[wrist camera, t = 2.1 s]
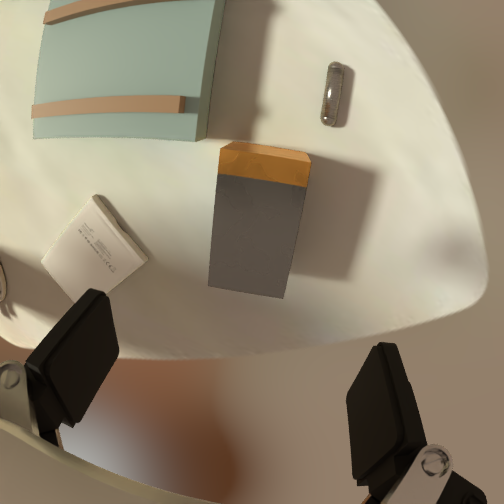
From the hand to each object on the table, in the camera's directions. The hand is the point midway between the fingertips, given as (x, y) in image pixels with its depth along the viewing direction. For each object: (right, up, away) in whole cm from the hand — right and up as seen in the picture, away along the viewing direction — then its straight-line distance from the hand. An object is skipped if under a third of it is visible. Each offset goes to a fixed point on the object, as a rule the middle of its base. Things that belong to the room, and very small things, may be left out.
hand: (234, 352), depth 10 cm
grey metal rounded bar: (+7, +15, +10) cm, 19 cm away
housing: (+1, +7, +14) cm, 16 cm away
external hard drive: (-16, +3, +19) cm, 26 cm away
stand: (-10, +20, +9) cm, 24 cm away
